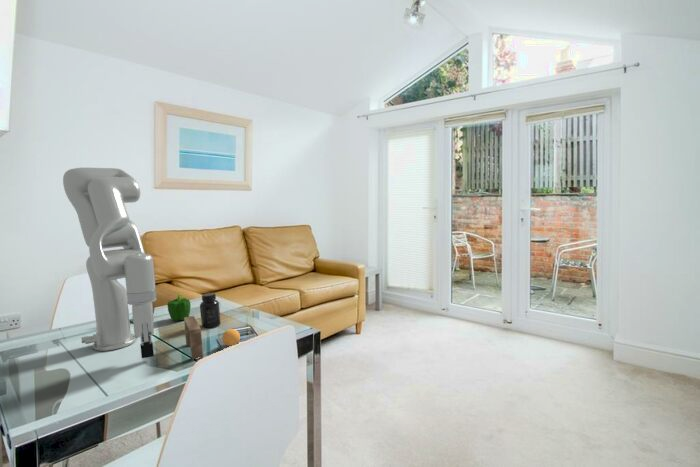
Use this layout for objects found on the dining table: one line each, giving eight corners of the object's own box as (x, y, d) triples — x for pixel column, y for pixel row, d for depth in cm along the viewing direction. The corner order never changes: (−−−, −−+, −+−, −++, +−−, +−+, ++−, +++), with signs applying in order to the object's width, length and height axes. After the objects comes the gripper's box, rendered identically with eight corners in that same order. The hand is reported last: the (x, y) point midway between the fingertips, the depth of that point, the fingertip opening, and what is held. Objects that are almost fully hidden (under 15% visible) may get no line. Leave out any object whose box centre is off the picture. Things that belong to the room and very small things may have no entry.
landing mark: (224, 351, 122) (224, 350, 122) (216, 339, 132) (216, 338, 132) (261, 343, 127) (261, 342, 127) (251, 332, 138) (251, 331, 138)
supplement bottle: (223, 322, 149) (221, 292, 148) (216, 328, 143) (213, 296, 141) (206, 322, 150) (204, 292, 149) (198, 328, 143) (195, 297, 142)
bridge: (192, 360, 116) (190, 330, 115) (186, 344, 128) (184, 317, 127) (203, 357, 117) (200, 328, 116) (195, 342, 130) (193, 315, 129)
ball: (241, 332, 124) (238, 349, 124) (241, 327, 129) (238, 343, 129) (224, 331, 122) (220, 348, 122) (224, 325, 127) (220, 342, 127)
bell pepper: (182, 323, 150) (180, 298, 149) (164, 322, 152) (162, 297, 151) (196, 316, 158) (194, 292, 157) (179, 315, 160) (177, 291, 159)
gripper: (127, 293, 119) (133, 350, 121) (127, 304, 106) (133, 369, 108) (154, 289, 123) (159, 345, 125) (157, 300, 110) (163, 362, 112)
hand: (147, 356), depth 116 cm, fingers closed
